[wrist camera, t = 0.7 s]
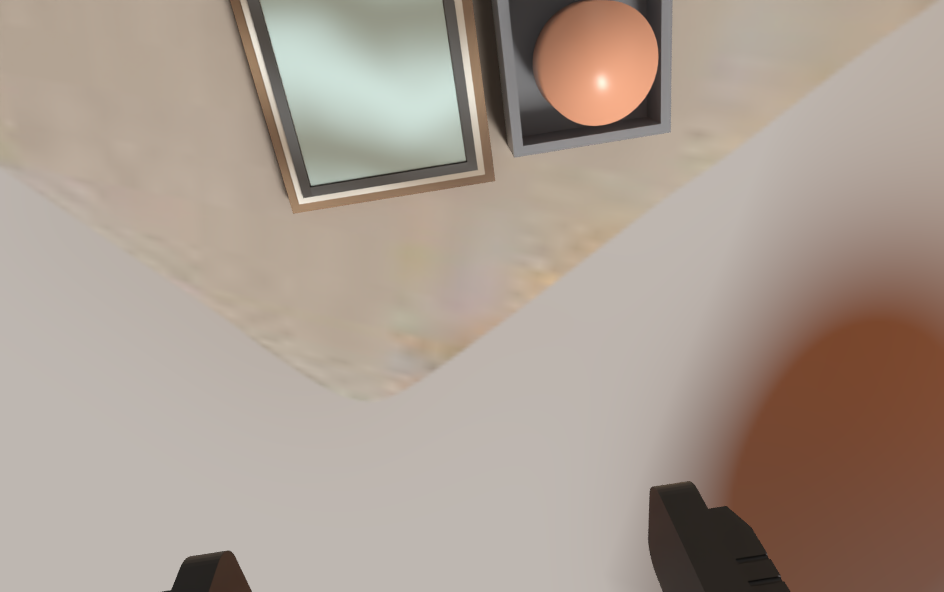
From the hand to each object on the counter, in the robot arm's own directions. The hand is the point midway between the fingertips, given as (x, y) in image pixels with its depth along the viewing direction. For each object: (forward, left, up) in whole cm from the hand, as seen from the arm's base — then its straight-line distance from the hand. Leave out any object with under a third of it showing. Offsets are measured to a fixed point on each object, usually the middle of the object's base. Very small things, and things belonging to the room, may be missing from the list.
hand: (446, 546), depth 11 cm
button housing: (-5, +9, -24) cm, 26 cm away
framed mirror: (-9, -2, -24) cm, 26 cm away
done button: (-5, +9, -22) cm, 24 cm away
